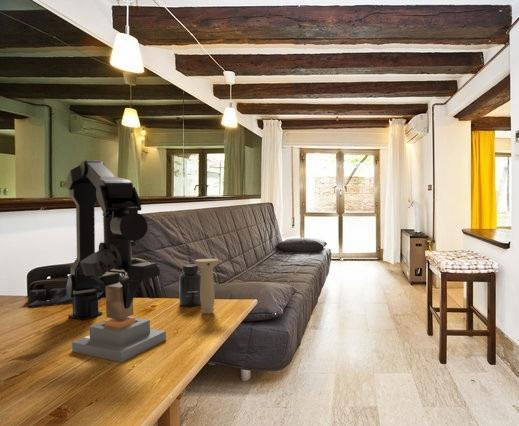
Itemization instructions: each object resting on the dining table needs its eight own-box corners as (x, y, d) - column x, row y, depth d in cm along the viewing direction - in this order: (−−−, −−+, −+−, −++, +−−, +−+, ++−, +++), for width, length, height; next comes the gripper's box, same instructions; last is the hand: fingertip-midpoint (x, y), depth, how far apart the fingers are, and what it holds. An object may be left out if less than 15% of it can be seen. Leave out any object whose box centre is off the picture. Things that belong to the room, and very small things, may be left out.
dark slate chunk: (101, 303, 130) (100, 288, 130) (23, 309, 124) (22, 294, 123) (104, 292, 145) (104, 278, 144) (35, 297, 138) (34, 283, 138)
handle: (220, 314, 115) (219, 260, 114) (197, 316, 112) (196, 262, 112) (216, 309, 119) (216, 258, 118) (194, 311, 117) (193, 259, 116)
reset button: (104, 332, 90) (104, 320, 90) (120, 326, 94) (119, 314, 94) (120, 335, 88) (120, 322, 88) (135, 329, 92) (135, 317, 92)
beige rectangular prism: (106, 317, 90) (105, 285, 90) (120, 312, 94) (119, 282, 94) (120, 319, 89) (119, 287, 88) (133, 314, 92) (132, 283, 92)
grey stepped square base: (72, 351, 88) (71, 328, 88) (120, 331, 101) (120, 311, 101) (121, 362, 82) (120, 337, 82) (166, 339, 95) (165, 318, 94)
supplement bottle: (191, 308, 121) (191, 267, 120) (174, 305, 124) (173, 265, 124) (206, 302, 127) (206, 264, 126) (190, 300, 130) (189, 262, 130)
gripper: (56, 239, 87) (59, 312, 88) (122, 243, 79) (124, 323, 80) (97, 234, 97) (100, 299, 98) (160, 237, 89) (162, 308, 90)
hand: (119, 307), depth 91 cm, fingers closed on beige rectangular prism, 4 cm apart
